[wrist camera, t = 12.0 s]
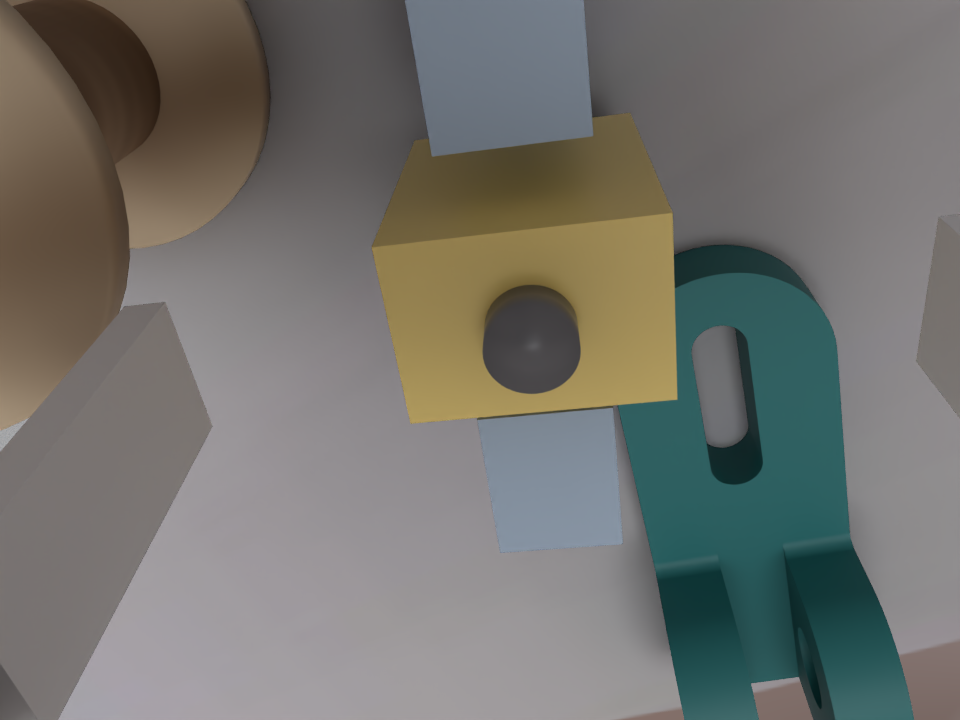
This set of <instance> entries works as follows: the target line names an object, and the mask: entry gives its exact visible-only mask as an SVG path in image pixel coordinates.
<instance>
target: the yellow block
mask: <svg viewBox="0 0 960 720" xmlns="http://www.w3.org/2000/svg"><path fill="white" fill-rule="evenodd" d="M592 123H593V136H591V137H583V138H575V139H567V140H559V141H551V142H543V143H535V144H528V145H520V146H512V147H504V148H496V149H488V150H480V151H472V152H464V153H456V154H448V155H440V156H432V155H431V149H430V143H429V139H421V140H415V141H414V143H413V146H412V148H411V151H410V153H409V156H408V158H407V161H406V163H405V166H404V168H403V170H402V173H401V175H400V178H399V180H398V183H397V185H396V188H395V190H394V193H393V195H392V198H391V200H390V203H389V205H388V208H387V210H386V213H385V215H384V218H383V220H382V223H381V225H380V228H379V230H378V233H377V235H376V238H375V240H374V243H373V245H372V252H373V256H374V261H375V265H376V270H377V274H378V279H379V283H380V288H381V292H382V297H383V301H384V306H385V310H386V315H387V319H388V324H389V328H390V333H391V337H392V342H393V346H394V351H395V355H396V360H397V364H398V369H399V373H400V378H401V382H402V387H403V391H404V396H405V400H406V405H407V409H408V414H409V418H410V423H411V424H412V423H423V422H435V421H446V420H457V419H468V418H479V417H490V416H501V415H512V414H524V413H535V412H546V411H557V410H568V409H579V408H590V407H601V406H612V405H624V404H635V403H646V402H657V401H668V400H677V363H676V323H675V284H674V244H673V212H672V210H671V208H670V205H669V203H668V201H667V198H666V196H665V194H664V191H663V189H662V187H661V184H660V182H659V180H658V177H657V175H656V172H655V170H654V168H653V165H652V163H651V161H650V158H649V156H648V154H647V151H646V149H645V147H644V144H643V142H642V140H641V137H640V135H639V133H638V130H637V128H636V125H635V123H634V121H633V118H632V116H631V114H630V113H624V114H616V115H608V116H601V117H593V118H592Z"/></svg>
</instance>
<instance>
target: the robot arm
mask: <svg viewBox="0 0 960 720" xmlns="http://www.w3.org/2000/svg"><path fill="white" fill-rule="evenodd" d="M916 362H917V363H918V364H919V366H920V367H921V368H922V369H923V371H924V372H925V373H926V375H927V376H928V377H929V379H930V380H931V381H932V383H933V384H934V385H935V386H936V388H937V389H938V390H939V392H940V393H941V394H942V396H943V397H944V398H945V400H946V401H947V402H948V403H949V405H950V406H951V407H952V409H953V410H954V411H955V413H956V414H957V415H958V417H959V418H960V214H958V215H949V216H940V217H939V218H938V225H937V231H936V237H935V244H934V250H933V257H932V263H931V269H930V276H929V282H928V289H927V295H926V301H925V308H924V314H923V321H922V327H921V333H920V340H919V346H918V353H917V359H916ZM211 428H212V424H211V421H210V419H209V416H208V413H207V411H206V408H205V405H204V403H203V400H202V398H201V395H200V392H199V390H198V387H197V384H196V382H195V379H194V377H193V374H192V371H191V369H190V366H189V363H188V361H187V358H186V356H185V353H184V350H183V348H182V345H181V342H180V340H179V337H178V335H177V332H176V329H175V327H174V324H173V321H172V319H171V316H170V314H169V311H168V308H167V306H166V303H165V302H161V303H152V304H143V305H134V306H125V307H124V308H123V309H122V310H121V311H120V312H119V314H118V315H117V316H116V317H115V318H114V319H113V321H112V322H111V323H110V324H109V325H108V327H107V328H106V329H105V330H104V331H103V332H102V334H101V335H100V336H99V337H98V338H97V339H96V341H95V342H94V343H93V344H92V345H91V346H90V348H89V349H88V350H87V351H86V352H85V353H84V355H83V356H82V357H81V358H80V359H79V360H78V362H77V363H76V364H75V365H74V366H73V368H72V369H71V370H70V371H69V372H68V373H67V375H66V376H65V377H64V378H63V379H62V380H61V382H60V383H59V384H58V385H57V386H56V387H55V389H54V390H53V391H52V392H51V393H50V394H49V396H48V397H47V398H46V399H45V400H44V402H43V403H42V404H41V405H40V406H39V407H38V409H37V410H36V411H35V412H34V413H33V414H32V416H31V417H30V418H29V419H28V420H27V421H26V423H25V424H24V425H23V426H22V427H21V428H20V430H19V431H18V432H17V433H16V434H15V436H14V437H13V438H12V439H11V440H10V441H9V443H8V444H7V445H6V446H5V447H4V448H3V450H2V451H1V452H0V720H58V719H59V717H60V715H61V713H62V711H63V709H64V707H65V705H66V703H67V702H68V700H69V698H70V696H71V694H72V692H73V690H74V688H75V686H76V685H77V683H78V681H79V679H80V677H81V675H82V673H83V671H84V669H85V667H86V666H87V664H88V662H89V660H90V658H91V656H92V654H93V652H94V650H95V648H96V647H97V645H98V643H99V641H100V639H101V637H102V635H103V633H104V631H105V629H106V628H107V626H108V624H109V622H110V620H111V618H112V616H113V614H114V612H115V611H116V609H117V607H118V605H119V603H120V601H121V599H122V597H123V595H124V593H125V592H126V590H127V588H128V586H129V584H130V582H131V580H132V578H133V576H134V574H135V573H136V571H137V569H138V567H139V565H140V563H141V561H142V559H143V557H144V556H145V554H146V552H147V550H148V548H149V546H150V544H151V542H152V540H153V538H154V537H155V535H156V533H157V531H158V529H159V527H160V525H161V523H162V521H163V519H164V518H165V516H166V514H167V512H168V510H169V508H170V506H171V504H172V502H173V500H174V499H175V497H176V495H177V493H178V491H179V489H180V487H181V485H182V483H183V482H184V480H185V478H186V476H187V474H188V472H189V470H190V468H191V466H192V464H193V463H194V461H195V459H196V457H197V455H198V453H199V451H200V449H201V447H202V445H203V444H204V442H205V440H206V438H207V436H208V434H209V432H210V430H211Z"/></svg>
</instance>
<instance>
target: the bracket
mask: <svg viewBox="0 0 960 720" xmlns="http://www.w3.org/2000/svg"><path fill="white" fill-rule="evenodd" d="M674 284H675V323H676V363H677V400H668V401H657V402H646V403H635V404H624V405H618V409H619V413H620V417H621V422H622V426H623V431H624V435H625V439H626V444H627V448H628V453H629V457H630V461H631V466H632V470H633V474H634V479H635V483H636V488H637V492H638V496H639V501H640V505H641V510H642V514H643V518H644V523H645V527H646V532H647V536H648V540H649V545H650V549H651V553H652V558H653V562H654V567H655V571H656V576H657V581H658V587H659V592H660V598H661V603H662V608H663V614H664V619H665V624H666V630H667V635H668V640H669V645H670V650H671V656H672V661H673V666H674V671H675V676H676V681H677V686H678V690H679V695H680V700H681V705H682V710H683V714H684V719H685V720H759V718H758V713H757V709H756V705H755V700H754V695H753V691H752V687H751V683H757V682H764V681H772V680H779V679H786V678H794V677H799V678H800V681H801V684H802V687H803V690H804V693H805V696H806V699H807V702H808V705H809V708H810V711H811V714H812V717H813V719H814V720H914V717H913V711H912V706H911V701H910V697H909V692H908V688H907V684H906V681H905V677H904V673H903V669H902V665H901V662H900V659H899V655H898V652H897V649H896V646H895V643H894V640H893V637H892V634H891V631H890V628H889V625H888V623H887V620H886V617H885V615H884V612H883V610H882V607H881V605H880V603H879V600H878V598H877V596H876V594H875V591H874V589H873V587H872V585H871V583H870V581H869V579H868V577H867V575H866V573H865V571H864V568H863V566H862V564H861V562H860V560H859V558H858V556H857V554H856V552H855V550H854V548H853V545H852V542H851V538H850V531H849V516H848V501H847V487H846V472H845V457H844V443H843V428H842V414H841V399H840V384H839V370H838V355H837V345H836V339H835V335H834V332H833V329H832V327H831V324H830V322H829V320H828V318H827V317H826V315H825V314H824V312H823V310H822V309H821V307H820V306H819V304H818V303H817V302H816V300H815V299H814V297H813V296H812V294H811V293H810V291H809V290H808V288H807V287H806V285H805V284H804V282H803V281H802V280H801V278H800V277H799V276H798V275H797V274H796V273H795V272H794V271H793V270H792V269H791V268H790V267H789V266H787V265H786V264H785V263H783V262H782V261H781V260H779V259H777V258H775V257H773V256H772V255H769V254H767V253H765V252H762V251H759V250H756V249H752V248H748V247H742V246H734V245H713V246H705V247H700V248H695V249H691V250H688V251H685V252H682V253H679V254H676V255H674ZM720 325H725V326H731V327H734V328H735V330H736V337H737V344H738V352H739V359H740V366H741V374H742V381H743V388H744V396H745V403H746V410H747V418H748V432H747V434H746V436H745V437H744V438H743V439H742V440H741V441H740V442H739V443H737V444H735V445H733V446H730V447H726V448H716V447H712V446H710V445H708V444H706V438H705V432H704V426H703V420H702V414H701V408H700V402H699V397H698V391H697V385H696V379H695V373H694V367H693V361H692V355H691V350H692V345H693V343H694V341H695V339H696V338H697V337H698V336H699V335H700V334H701V333H702V332H703V331H705V330H707V329H709V328H711V327H714V326H720Z"/></svg>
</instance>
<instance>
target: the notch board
mask: <svg viewBox="0 0 960 720" xmlns="http://www.w3.org/2000/svg"><path fill="white" fill-rule="evenodd" d="M405 4H406V10H407V15H408V21H409V27H410V33H411V39H412V44H413V50H414V56H415V62H416V68H417V73H418V79H419V85H420V91H421V97H422V102H423V108H424V114H425V120H426V126H427V131H428V137H429V143H430V149H431V155H432V156H440V155H448V154H456V153H464V152H472V151H480V150H488V149H496V148H504V147H512V146H520V145H528V144H535V143H543V142H551V141H559V140H567V139H575V138H583V137H591V136H593V123H592V109H591V95H590V81H589V68H588V54H587V40H586V26H585V12H584V0H405ZM477 421H478V427H479V433H480V439H481V444H482V450H483V456H484V462H485V468H486V473H487V479H488V485H489V491H490V497H491V502H492V508H493V514H494V520H495V526H496V531H497V537H498V543H499V549H500V553H505V552H519V551H533V550H547V549H561V548H575V547H589V546H603V545H617V544H623V539H622V525H621V511H620V497H619V483H618V469H617V455H616V442H615V428H614V414H613V405H612V406H601V407H590V408H579V409H568V410H557V411H546V412H535V413H524V414H512V415H501V416H490V417H479V418H477Z"/></svg>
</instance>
